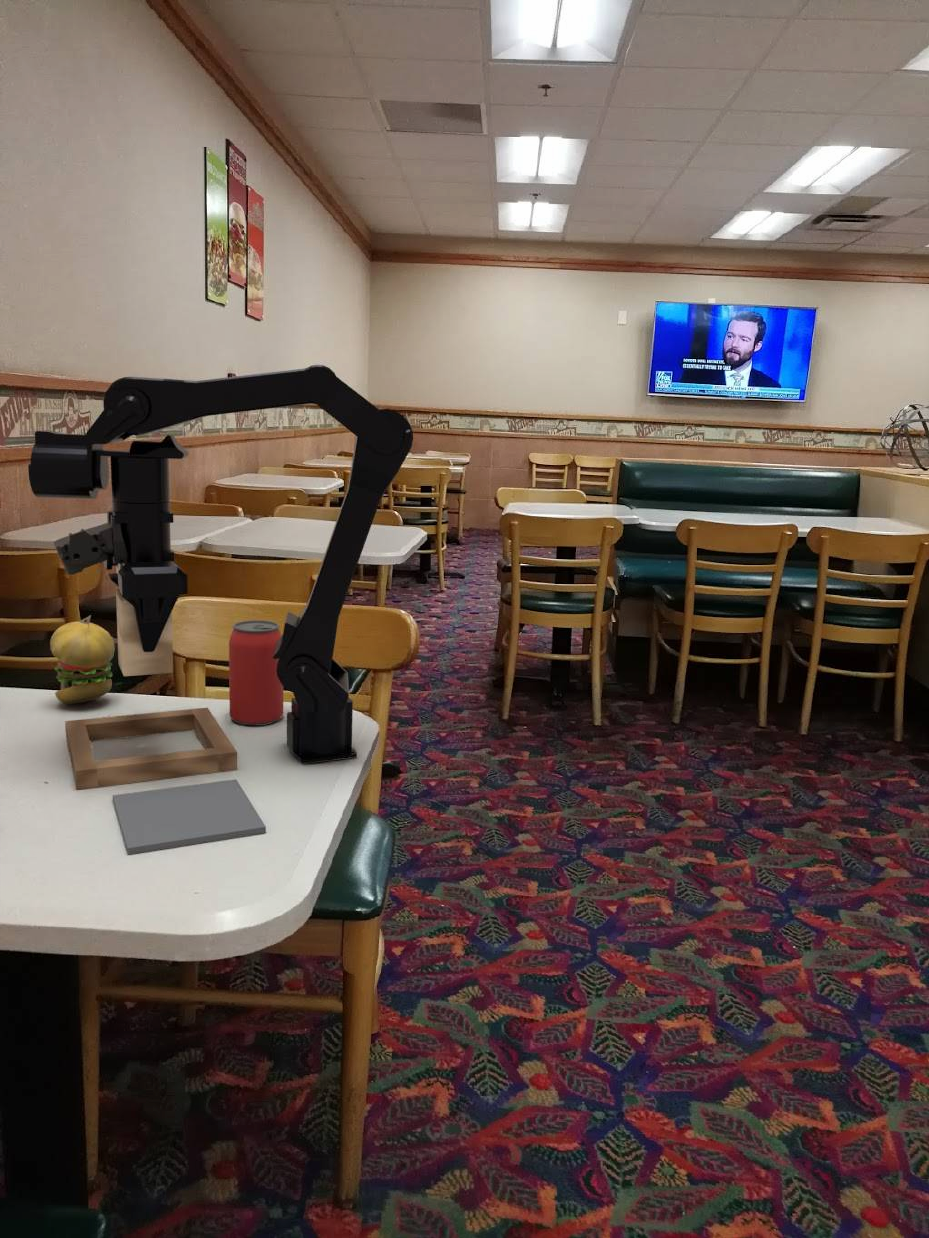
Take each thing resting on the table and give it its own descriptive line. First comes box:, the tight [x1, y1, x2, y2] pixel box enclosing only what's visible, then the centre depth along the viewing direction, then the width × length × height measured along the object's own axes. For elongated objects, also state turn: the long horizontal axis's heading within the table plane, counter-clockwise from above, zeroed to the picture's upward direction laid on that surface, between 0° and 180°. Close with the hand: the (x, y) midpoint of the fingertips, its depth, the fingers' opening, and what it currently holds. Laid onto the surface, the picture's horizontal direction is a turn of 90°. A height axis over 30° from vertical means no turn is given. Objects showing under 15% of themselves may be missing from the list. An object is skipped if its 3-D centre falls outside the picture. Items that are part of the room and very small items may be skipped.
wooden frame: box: [64, 707, 238, 791], centre depth 103 cm, size 16×16×2 cm
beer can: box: [228, 619, 284, 726], centre depth 115 cm, size 7×7×12 cm
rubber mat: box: [111, 778, 267, 856], centre depth 88 cm, size 12×12×1 cm
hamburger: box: [49, 615, 116, 705], centre depth 117 cm, size 8×7×12 cm
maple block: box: [115, 592, 174, 677], centre depth 100 cm, size 5×5×8 cm
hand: (145, 645), depth 100 cm, fingers closed on maple block, 5 cm apart
